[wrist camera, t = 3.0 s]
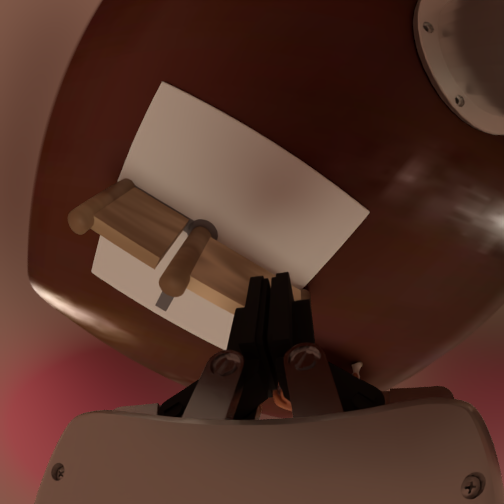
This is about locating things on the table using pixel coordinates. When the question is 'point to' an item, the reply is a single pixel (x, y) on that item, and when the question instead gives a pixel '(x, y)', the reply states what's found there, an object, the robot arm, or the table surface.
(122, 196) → the fixed fence section
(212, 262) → the fence panel
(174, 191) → the card
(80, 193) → the table surface
